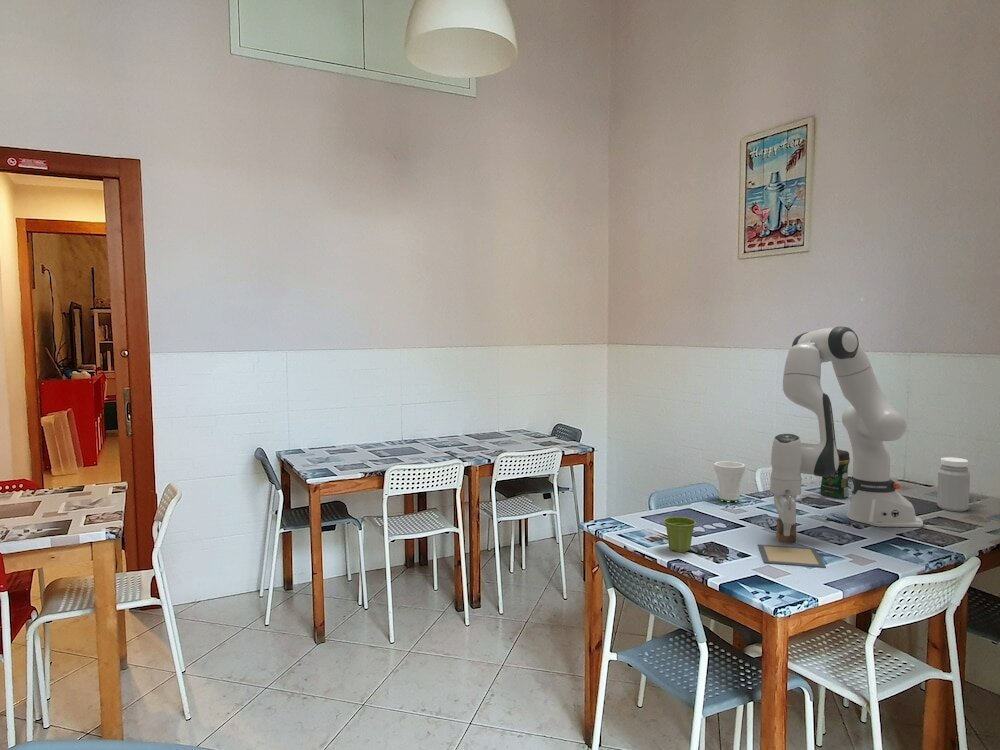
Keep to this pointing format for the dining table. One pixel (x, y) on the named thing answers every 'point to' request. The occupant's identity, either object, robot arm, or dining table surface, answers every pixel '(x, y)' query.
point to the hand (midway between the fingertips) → (784, 530)
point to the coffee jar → (837, 479)
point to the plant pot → (679, 533)
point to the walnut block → (780, 535)
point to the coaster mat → (791, 556)
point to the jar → (953, 484)
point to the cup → (729, 479)
